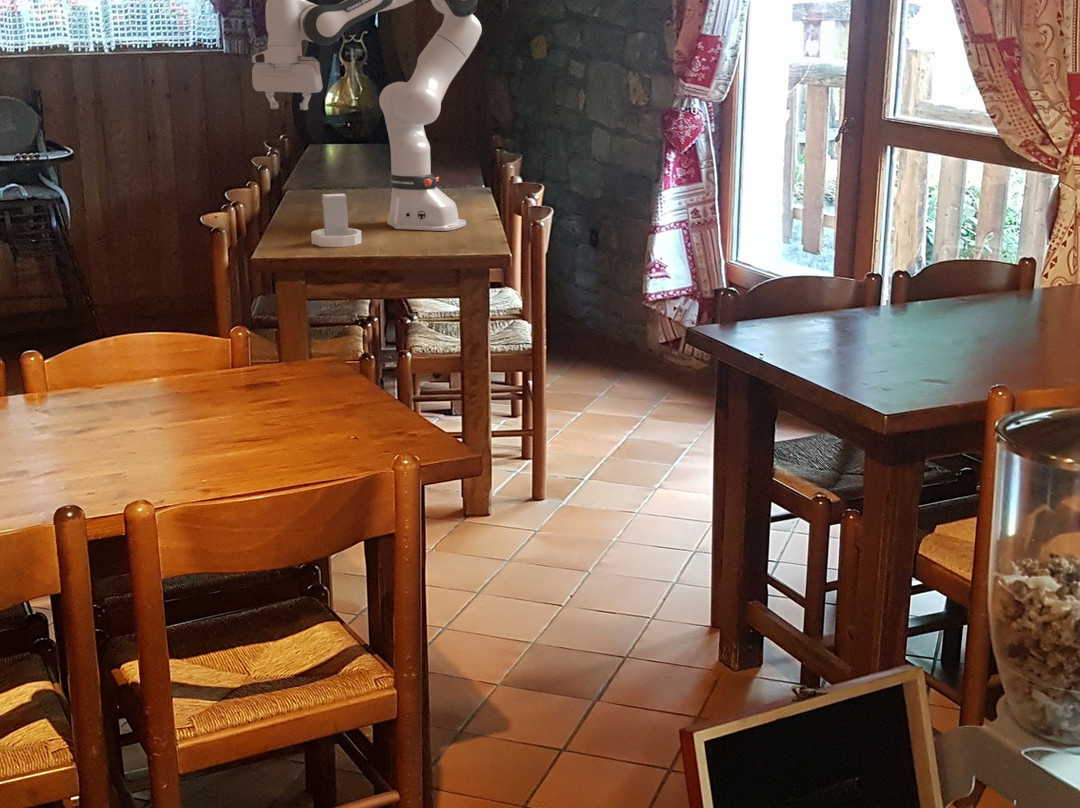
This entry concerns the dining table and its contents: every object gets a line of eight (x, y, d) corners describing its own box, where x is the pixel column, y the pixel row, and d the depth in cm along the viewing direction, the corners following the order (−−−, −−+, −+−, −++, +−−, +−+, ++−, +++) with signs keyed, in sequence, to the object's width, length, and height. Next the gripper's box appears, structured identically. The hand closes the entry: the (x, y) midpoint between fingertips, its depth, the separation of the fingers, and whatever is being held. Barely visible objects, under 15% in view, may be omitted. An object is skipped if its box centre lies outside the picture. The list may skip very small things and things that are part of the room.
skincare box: (347, 238, 329) (345, 192, 325) (349, 241, 325) (347, 195, 321) (323, 239, 328) (321, 193, 324) (325, 242, 323) (323, 196, 320)
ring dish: (370, 239, 331) (370, 230, 330) (345, 248, 319) (345, 238, 318) (328, 235, 335) (328, 226, 334) (302, 244, 324) (301, 234, 323)
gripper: (325, 56, 328) (328, 109, 333) (260, 54, 336) (264, 106, 340) (312, 57, 323) (315, 111, 327) (246, 56, 330) (251, 109, 335)
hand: (289, 109), depth 334 cm, fingers open, 8 cm apart
